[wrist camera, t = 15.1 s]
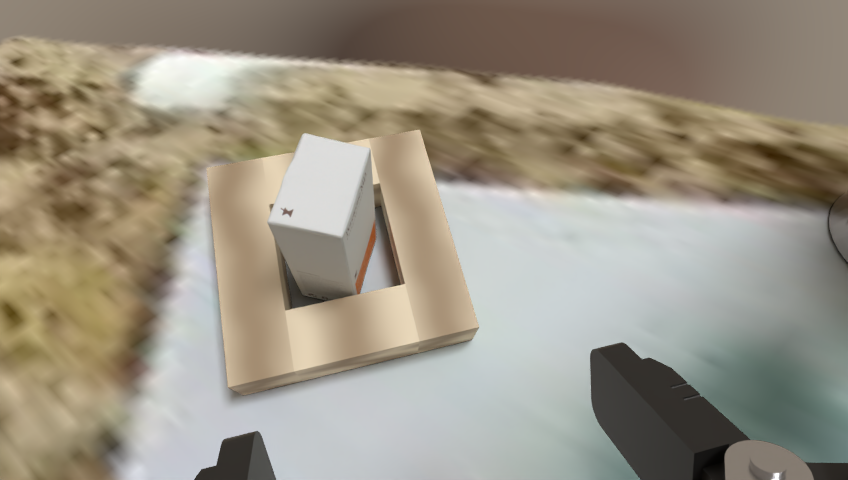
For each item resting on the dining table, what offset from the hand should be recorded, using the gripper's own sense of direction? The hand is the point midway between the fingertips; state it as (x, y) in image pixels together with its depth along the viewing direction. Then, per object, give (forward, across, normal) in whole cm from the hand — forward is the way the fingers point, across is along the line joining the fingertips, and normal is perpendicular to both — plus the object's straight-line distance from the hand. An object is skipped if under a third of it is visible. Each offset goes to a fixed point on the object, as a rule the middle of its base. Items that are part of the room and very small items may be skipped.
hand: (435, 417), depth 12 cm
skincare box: (+27, +2, +7) cm, 28 cm away
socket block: (+27, +2, +7) cm, 28 cm away
